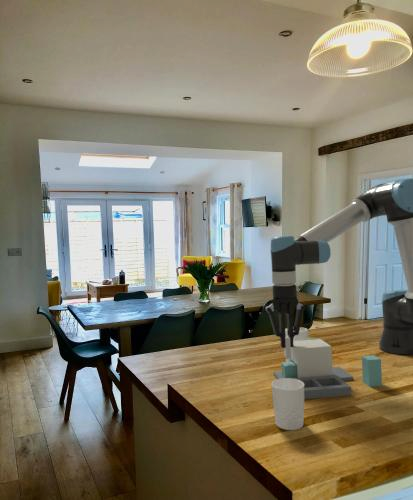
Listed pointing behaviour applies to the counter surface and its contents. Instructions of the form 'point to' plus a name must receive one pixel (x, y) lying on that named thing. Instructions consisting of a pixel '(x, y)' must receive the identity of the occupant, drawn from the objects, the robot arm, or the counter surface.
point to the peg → (371, 370)
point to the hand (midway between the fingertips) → (287, 357)
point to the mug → (299, 336)
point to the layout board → (291, 372)
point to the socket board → (324, 387)
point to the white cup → (288, 403)
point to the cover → (312, 358)
